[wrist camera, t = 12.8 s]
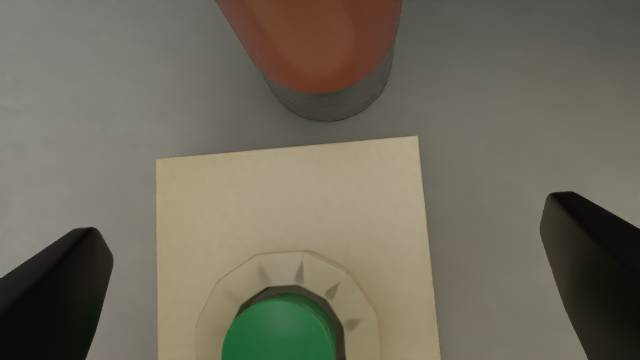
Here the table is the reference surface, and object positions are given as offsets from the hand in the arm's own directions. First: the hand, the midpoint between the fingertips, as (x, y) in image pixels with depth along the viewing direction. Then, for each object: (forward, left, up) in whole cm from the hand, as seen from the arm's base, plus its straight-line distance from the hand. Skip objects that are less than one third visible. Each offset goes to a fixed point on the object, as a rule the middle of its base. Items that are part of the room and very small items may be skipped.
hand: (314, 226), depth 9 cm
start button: (-4, +2, -7) cm, 8 cm away
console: (-1, +2, -11) cm, 11 cm away
